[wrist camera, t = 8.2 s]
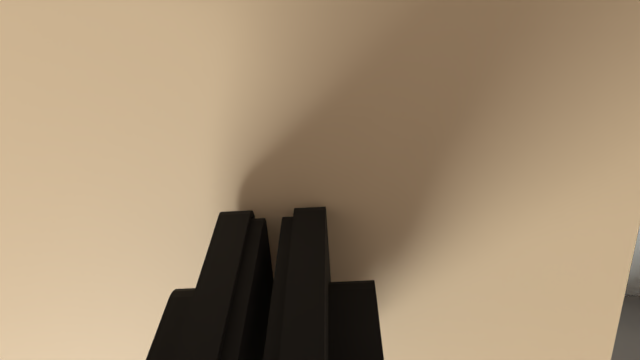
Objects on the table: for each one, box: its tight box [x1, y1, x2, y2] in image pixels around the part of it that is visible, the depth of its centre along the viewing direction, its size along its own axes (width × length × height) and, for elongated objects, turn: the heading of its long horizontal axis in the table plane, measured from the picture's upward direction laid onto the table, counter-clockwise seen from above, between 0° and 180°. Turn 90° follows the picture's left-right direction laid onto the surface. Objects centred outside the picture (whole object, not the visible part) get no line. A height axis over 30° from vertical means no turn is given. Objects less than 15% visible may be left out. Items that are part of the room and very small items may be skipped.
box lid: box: [0, 0, 640, 360], centre depth 11 cm, size 16×13×1 cm
